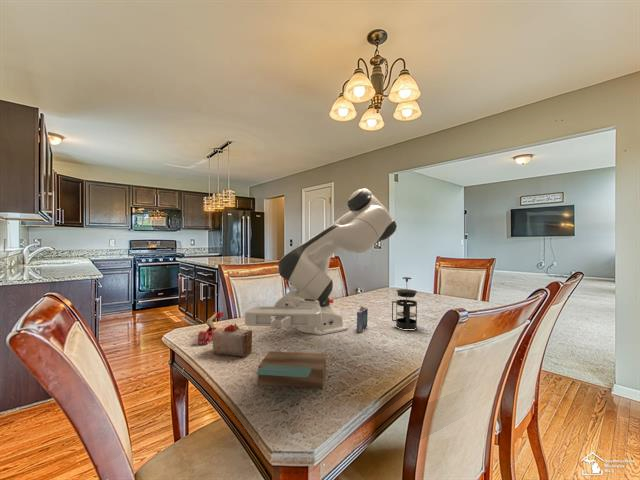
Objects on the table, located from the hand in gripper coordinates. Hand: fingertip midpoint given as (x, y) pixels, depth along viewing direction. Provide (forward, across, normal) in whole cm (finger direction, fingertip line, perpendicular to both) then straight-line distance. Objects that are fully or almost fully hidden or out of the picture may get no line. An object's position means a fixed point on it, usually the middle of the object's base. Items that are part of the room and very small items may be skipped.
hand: (276, 325), depth 70 cm
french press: (-70, +40, +21) cm, 83 cm away
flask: (-64, +21, +20) cm, 70 cm away
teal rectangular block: (-9, +1, +15) cm, 17 cm away
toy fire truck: (-42, -39, +19) cm, 60 cm away
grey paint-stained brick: (-30, -25, +19) cm, 44 cm away
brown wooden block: (-16, 0, +20) cm, 25 cm away
